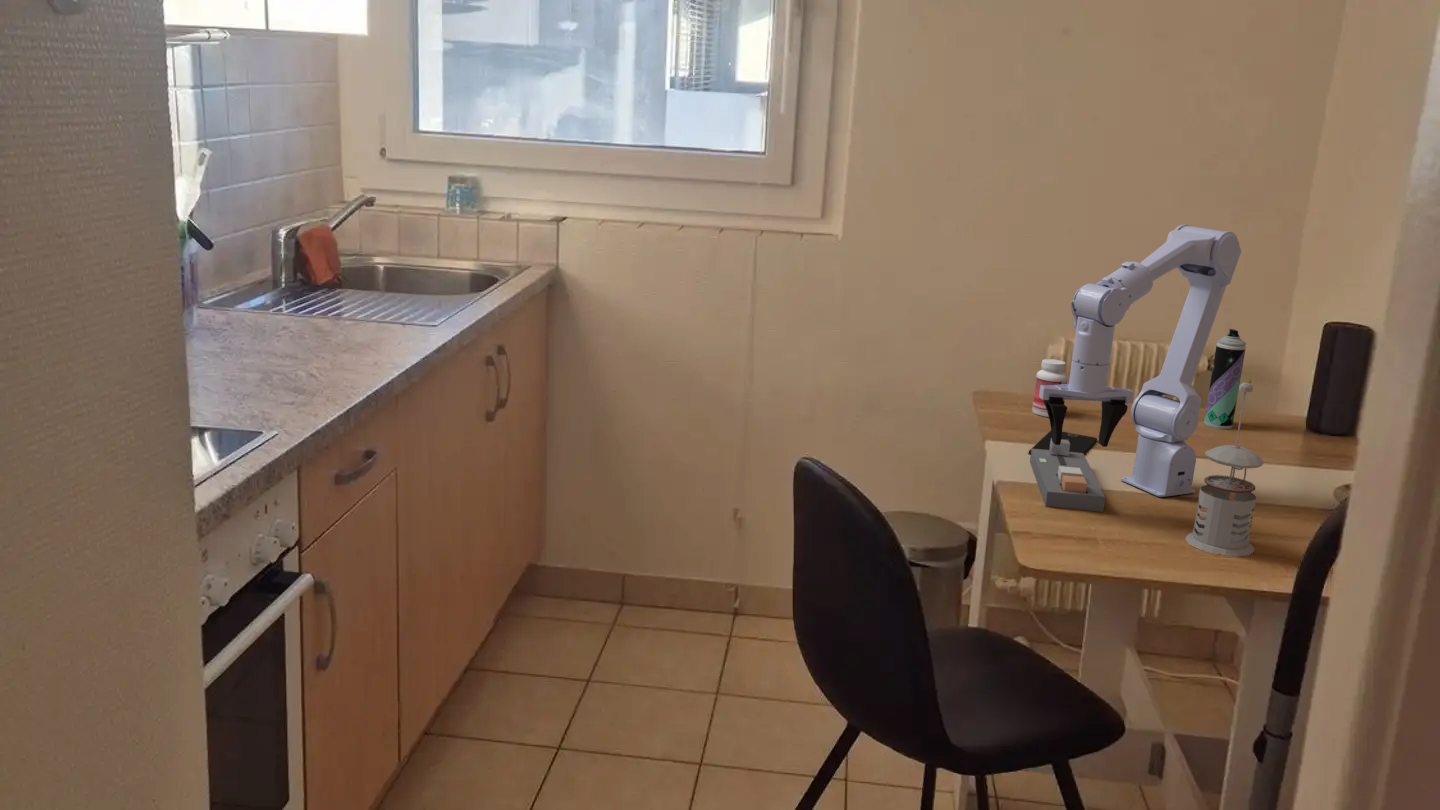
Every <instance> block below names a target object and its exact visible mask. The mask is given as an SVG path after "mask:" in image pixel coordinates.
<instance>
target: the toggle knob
mask: <svg viewBox="0 0 1440 810" xmlns="http://www.w3.org/2000/svg"><path fill="white" fill-rule="evenodd" d="M1069 449H1070V442H1069V440H1063V439H1061V443H1060V445H1055V444H1054V443H1053V442H1052V438H1051V442H1050V450H1049V451H1050V453H1051V454H1054V455H1065V456H1069Z"/></svg>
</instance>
